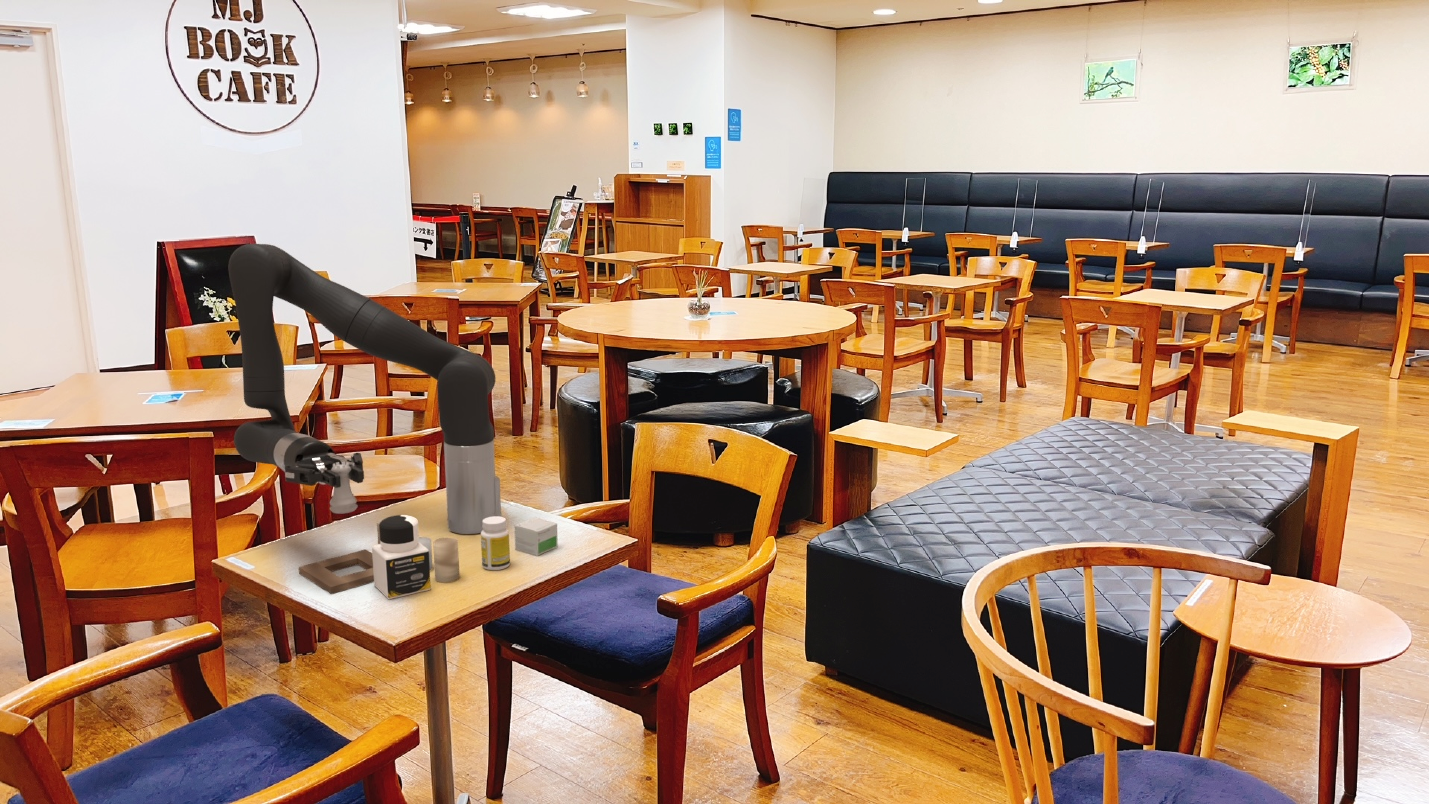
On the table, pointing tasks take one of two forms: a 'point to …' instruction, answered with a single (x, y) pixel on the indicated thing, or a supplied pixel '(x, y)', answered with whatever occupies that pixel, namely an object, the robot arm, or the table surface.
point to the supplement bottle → (495, 543)
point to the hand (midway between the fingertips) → (349, 479)
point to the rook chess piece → (343, 491)
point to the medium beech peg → (446, 560)
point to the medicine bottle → (400, 558)
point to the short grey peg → (427, 544)
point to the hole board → (324, 569)
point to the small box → (536, 536)
